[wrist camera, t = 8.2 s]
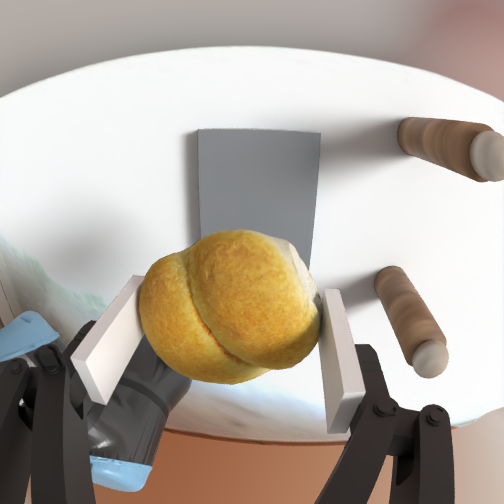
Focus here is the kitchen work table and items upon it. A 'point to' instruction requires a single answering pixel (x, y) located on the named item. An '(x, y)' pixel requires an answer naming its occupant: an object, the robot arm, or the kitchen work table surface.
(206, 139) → the slate board
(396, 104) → the kitchen work table surface
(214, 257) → the bread roll
